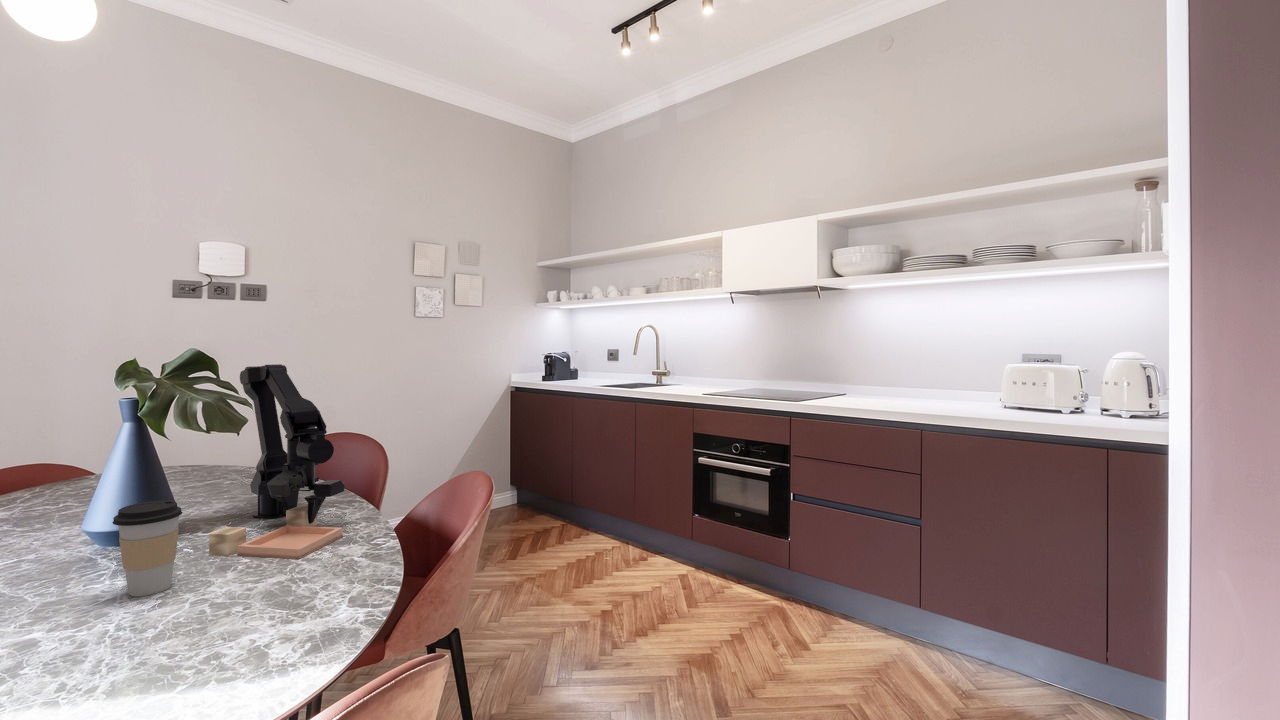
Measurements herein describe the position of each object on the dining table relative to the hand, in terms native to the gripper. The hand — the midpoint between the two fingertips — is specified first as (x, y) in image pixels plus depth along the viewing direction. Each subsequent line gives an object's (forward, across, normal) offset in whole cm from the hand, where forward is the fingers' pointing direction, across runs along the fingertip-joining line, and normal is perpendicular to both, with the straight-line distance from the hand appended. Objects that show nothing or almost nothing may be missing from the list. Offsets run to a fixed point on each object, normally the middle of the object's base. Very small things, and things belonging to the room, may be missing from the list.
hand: (301, 522), depth 138 cm
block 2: (+1, 0, 0) cm, 1 cm away
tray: (+1, +7, -12) cm, 14 cm away
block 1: (+1, -4, -17) cm, 17 cm away
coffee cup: (+1, -2, -36) cm, 36 cm away
